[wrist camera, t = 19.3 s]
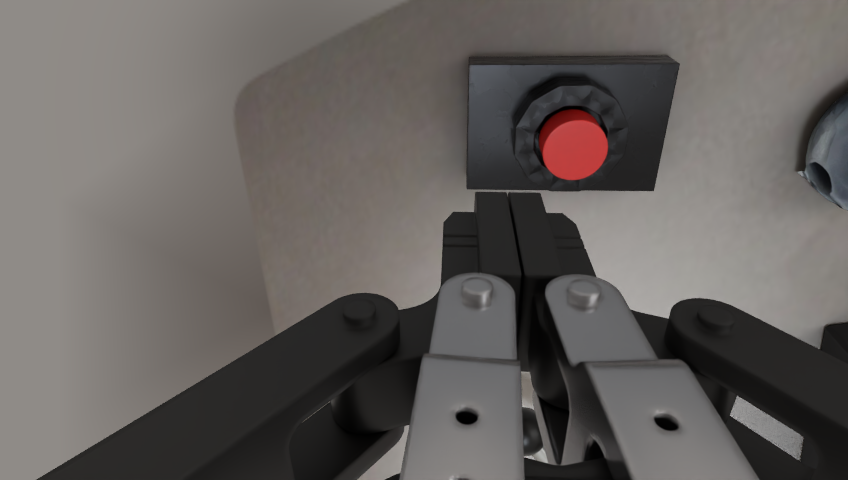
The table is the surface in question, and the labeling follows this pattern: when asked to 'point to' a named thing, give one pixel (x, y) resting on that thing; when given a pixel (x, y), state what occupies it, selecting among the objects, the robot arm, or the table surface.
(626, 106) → the red push button panel
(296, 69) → the table surface
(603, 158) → the button
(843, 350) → the headphone box
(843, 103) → the electronic device
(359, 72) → the table surface
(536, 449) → the lever
